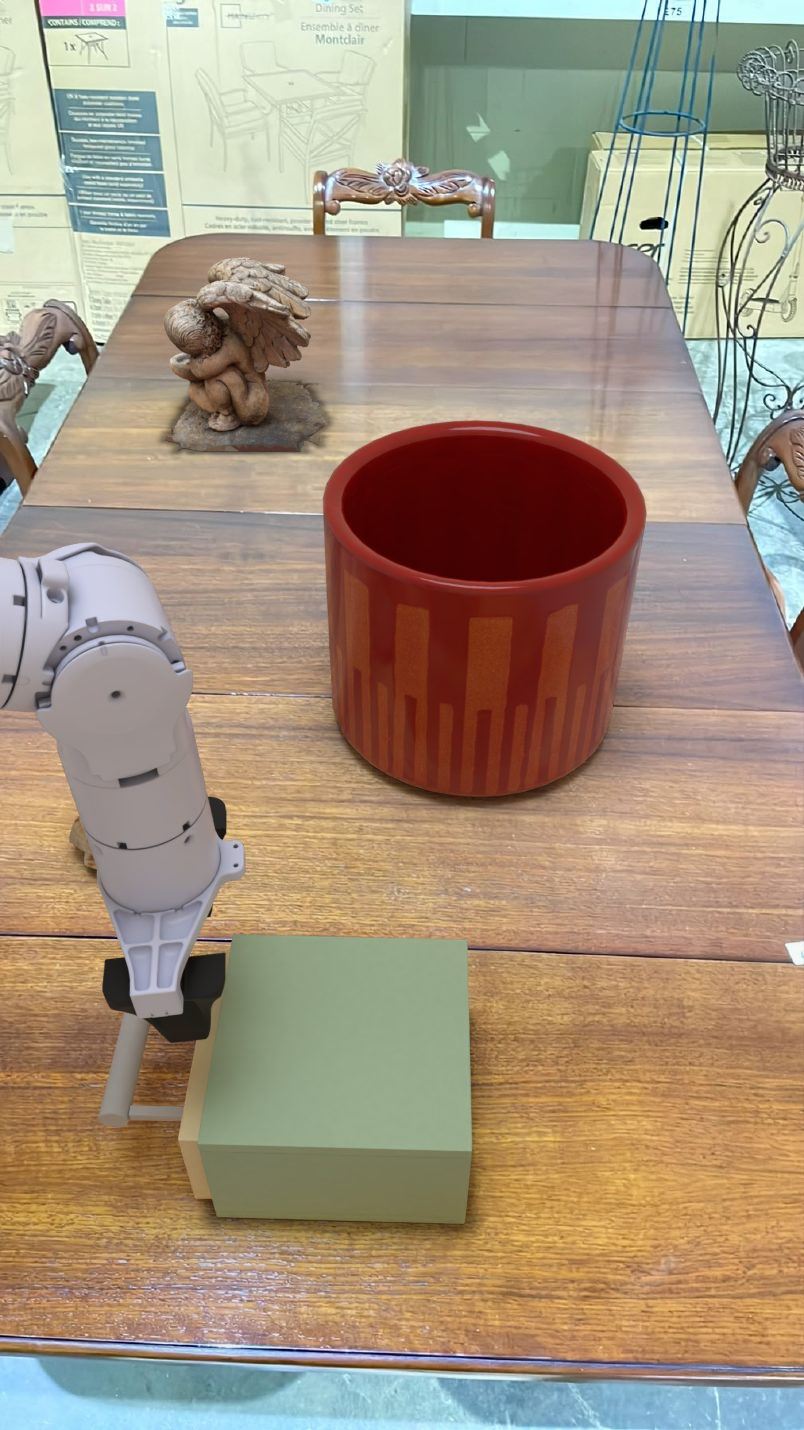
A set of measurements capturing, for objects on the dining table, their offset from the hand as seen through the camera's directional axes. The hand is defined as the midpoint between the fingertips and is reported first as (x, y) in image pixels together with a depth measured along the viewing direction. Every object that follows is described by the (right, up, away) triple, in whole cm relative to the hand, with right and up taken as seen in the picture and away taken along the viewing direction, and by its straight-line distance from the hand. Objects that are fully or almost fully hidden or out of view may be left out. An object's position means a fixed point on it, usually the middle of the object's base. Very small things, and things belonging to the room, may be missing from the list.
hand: (190, 971), depth 58 cm
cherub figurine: (-7, +49, +70) cm, 86 cm away
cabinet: (+8, -10, +5) cm, 14 cm away
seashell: (-8, +5, +21) cm, 23 cm away
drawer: (+4, -9, +5) cm, 11 cm away
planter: (+17, +14, +32) cm, 39 cm away
